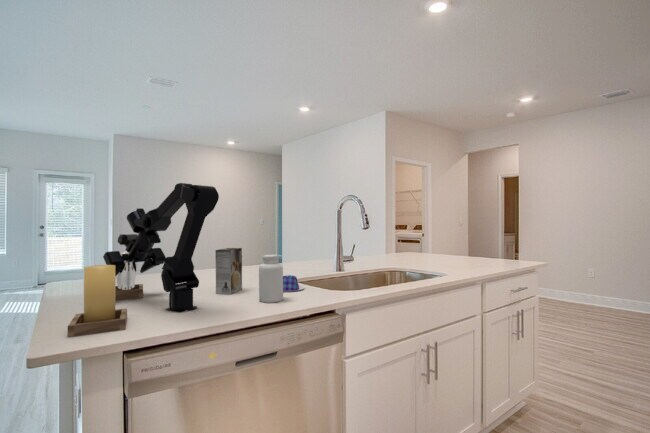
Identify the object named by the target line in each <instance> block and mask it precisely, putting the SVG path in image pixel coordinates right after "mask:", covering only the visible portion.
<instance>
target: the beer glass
mask: <svg viewBox="0 0 650 433" xmlns="http://www.w3.org/2000/svg"><path fill="white" fill-rule="evenodd" d="M119 252H120V251H119ZM120 254H121V256H126V255H128V252H126V251H122V252H120ZM137 271H138V262H135V263H133V262H128V263H124V265H123V267H122V270H121V271H120V272H119V273H118V275H117V276H115V280H116V283H117V285H116V286H117V291H123V290H134V289H135V284H136V277H137V273H138V272H137Z"/></svg>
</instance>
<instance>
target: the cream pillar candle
mask: <svg viewBox="0 0 650 433" xmlns="http://www.w3.org/2000/svg"><path fill="white" fill-rule="evenodd" d="M115 286H116V276H115V265H106V264H101V265H100V264H99V265H98V264H97V265H89V266H84V267H83V313H84V323H88V322H96V321H104V320H112V319H115V310H116V300H115Z"/></svg>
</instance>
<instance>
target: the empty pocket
mask: <svg viewBox="0 0 650 433" xmlns="http://www.w3.org/2000/svg"><path fill="white" fill-rule="evenodd" d="M117 286H118V285H115V301H123V300H133V299H143V298H144V283H140V284H139V283H137V284H136V283H135V289H134V290H123V291H117Z"/></svg>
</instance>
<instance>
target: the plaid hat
mask: <svg viewBox="0 0 650 433" xmlns="http://www.w3.org/2000/svg"><path fill="white" fill-rule="evenodd" d="M298 281H299V280H298V277H297V276H296V275H293V274H289V275H287V274H286V275H283V293H284V292H286V293H289V292H296V291H297V292H298V291H301V290H304V289H305V287H304V286H303V285H299V282H298Z"/></svg>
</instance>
